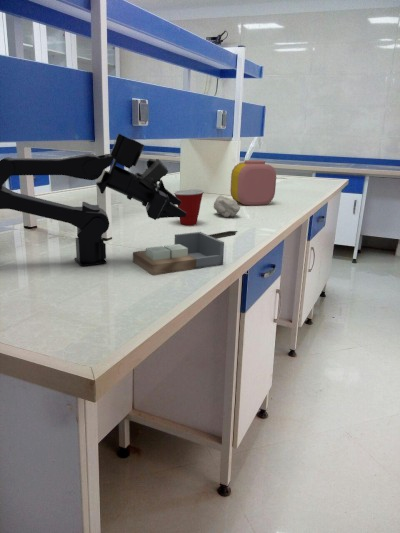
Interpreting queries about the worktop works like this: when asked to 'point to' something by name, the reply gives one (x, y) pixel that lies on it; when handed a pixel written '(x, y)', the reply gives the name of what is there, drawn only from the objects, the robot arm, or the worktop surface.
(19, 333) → the worktop surface
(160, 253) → the tile
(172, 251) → the tile
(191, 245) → the box
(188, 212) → the plastic cup
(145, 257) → the walnut ledge
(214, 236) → the knife
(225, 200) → the fossil replica
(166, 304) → the worktop surface
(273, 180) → the alarm clock
